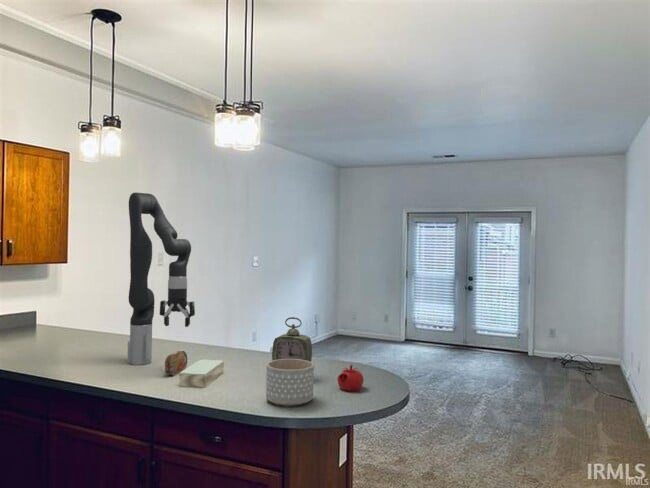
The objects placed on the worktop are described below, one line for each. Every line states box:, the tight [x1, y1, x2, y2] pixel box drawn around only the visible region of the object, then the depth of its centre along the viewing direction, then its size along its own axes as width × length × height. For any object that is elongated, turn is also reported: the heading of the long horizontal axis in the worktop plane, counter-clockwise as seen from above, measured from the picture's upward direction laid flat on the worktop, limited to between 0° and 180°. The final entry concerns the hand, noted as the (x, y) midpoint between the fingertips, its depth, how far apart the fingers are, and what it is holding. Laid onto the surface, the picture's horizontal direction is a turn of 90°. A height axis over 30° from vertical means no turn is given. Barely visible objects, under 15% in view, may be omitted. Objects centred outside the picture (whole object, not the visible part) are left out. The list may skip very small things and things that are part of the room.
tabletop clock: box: [271, 316, 313, 362], centre depth 204 cm, size 14×9×25 cm, turn 75°
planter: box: [265, 359, 315, 407], centre depth 177 cm, size 16×16×13 cm
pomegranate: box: [337, 364, 364, 392], centre depth 192 cm, size 10×10×9 cm
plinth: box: [178, 359, 225, 388], centre depth 201 cm, size 10×22×5 cm, turn 173°
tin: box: [164, 350, 188, 376], centre depth 210 cm, size 15×3×8 cm, turn 168°
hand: (177, 326), depth 210 cm, fingers open, 8 cm apart
